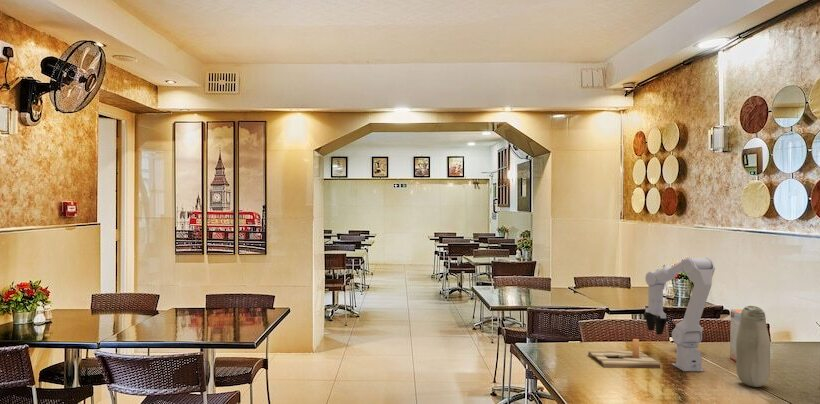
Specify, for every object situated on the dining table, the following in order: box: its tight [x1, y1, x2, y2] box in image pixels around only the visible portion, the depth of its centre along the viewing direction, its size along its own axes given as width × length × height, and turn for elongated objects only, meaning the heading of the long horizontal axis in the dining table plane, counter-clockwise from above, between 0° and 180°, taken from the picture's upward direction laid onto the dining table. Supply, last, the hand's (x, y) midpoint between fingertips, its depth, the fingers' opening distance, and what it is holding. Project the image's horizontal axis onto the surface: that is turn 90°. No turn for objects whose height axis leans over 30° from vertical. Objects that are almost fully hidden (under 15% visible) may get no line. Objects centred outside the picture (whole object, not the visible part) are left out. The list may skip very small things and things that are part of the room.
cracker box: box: [729, 308, 743, 363], centre depth 226 cm, size 14×6×21 cm, turn 168°
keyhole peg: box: [632, 338, 640, 358], centre depth 225 cm, size 5×5×9 cm
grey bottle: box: [735, 305, 771, 388], centre depth 196 cm, size 10×10×28 cm
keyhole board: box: [587, 350, 661, 369], centre depth 225 cm, size 18×22×2 cm
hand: (655, 332), depth 235 cm, fingers open, 7 cm apart
